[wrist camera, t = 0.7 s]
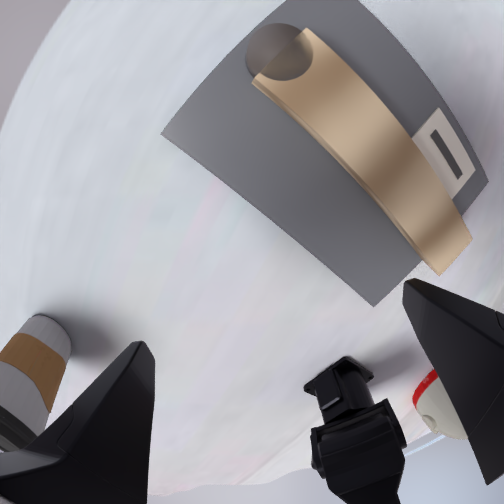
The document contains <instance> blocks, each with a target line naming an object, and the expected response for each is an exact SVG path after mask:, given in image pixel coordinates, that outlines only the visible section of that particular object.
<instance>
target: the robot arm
mask: <svg viewBox="0 0 504 504" xmlns="http://www.w3.org/2000/svg"><path fill="white" fill-rule="evenodd" d="M403 306H404V309H405V311H406V313H407V315H408V317H409V320H410V322H411V324H412V326H413V329H414V331H415V333H416V335H417V338H418V340H419V342H420V344H421V346H422V347H423V349H424V351H425V353H426V355H427V356H428V358H429V360H430V362H431V364H432V365H433V367H434V369H435V371H436V373H437V375H438V377H439V379H440V380H441V382H442V384H443V386H444V388H445V390H446V392H447V394H448V396H449V398H450V400H451V402H452V404H453V406H454V408H455V411H456V413H457V415H458V417H459V419H460V421H461V423H462V426H463V428H464V430H465V432H466V435H467V437H468V440H469V442H470V444H471V446H472V449H473V451H474V454H475V456H476V459H477V461H478V464H479V466H480V469H481V472H482V474H483V477H484V479H485V483H486V484H487V485H489V484H490V483H492V482H493V481H495V480H496V479H498V478H499V477H501V476H502V475H503V474H504V314H503V313H500V312H498V311H496V312H495V310H493V309H491V308H488V307H486V306H484V305H481V304H479V303H476V302H474V301H472V300H469V299H467V298H464V297H462V296H459V295H457V294H454V293H452V292H449V291H447V290H444V289H442V288H439V287H437V286H434V285H432V284H429V283H427V282H424V281H422V280H419V279H417V278H413V279H410V280H407V281H405V282H404V287H403ZM373 378H374V375H373V373H371V372H370V371H368V370H366V369H365V368H363V367H362V366H360V365H358V364H357V363H355V362H353V361H352V360H350V359H348V358H346V357H344V358H342V359H341V360H339V361H338V362H337V363H335V364H334V365H333V366H331V367H330V368H329V369H327V370H326V371H325V372H323V373H322V374H321V375H319V376H318V377H316V378H315V379H314V380H312V381H311V382H309V383H308V384H307V385H305V386H304V387H303V388H304V391H305V392H307V393H309V394H311V395H314V396H316V397H317V400H318V404H319V408H320V410H321V413H322V416H323V420H324V424H325V425H322V426H319V427H314V428H311V434H312V435H311V436H310V439H311V445H312V461H311V465H312V468H313V469H315V470H317V471H318V473H319V474H320V476H321V478H322V479H325V478H326V481H327V485H328V488H329V489H330V490H331V491H332V492H333V493H334V494H335V495H337V496H338V497H339V498H340V499H342V500H343V501H344V502H345V503H347V504H401V503H400V500H399V497H398V494H397V492H398V488H399V485H400V481H401V478H402V474H403V470H404V464H405V458H404V455H403V452H402V449H404V448H406V447H407V444H406V440H405V437H404V434H403V431H402V428H401V426H400V424H399V421H398V419H397V417H396V415H395V413H394V411H393V409H392V407H391V405H390V403H389V401H388V399H387V398H386V399H384V400H382V401H381V402H379V403H377V404H374V401H373V399H372V396H371V394H370V391H369V389H368V386H367V384H366V383H367V382H369V381H370V380H371V379H373ZM154 401H155V359H154V356H153V355H152V353H151V351H150V350H149V348H148V346H147V345H146V343H145V342H144V341H135V342H132V343H131V344H130V345H129V346H128V347H127V348H126V349H125V350H124V351H123V352H122V353H121V354H120V355H119V356H118V357H117V358H116V359H115V360H114V361H113V362H112V363H111V364H110V365H109V366H108V367H107V368H106V369H105V370H104V371H103V372H102V373H101V374H100V375H99V376H98V377H97V378H96V379H95V380H94V382H93V383H92V384H91V385H90V386H89V387H88V388H87V389H86V390H85V391H84V392H83V393H82V394H81V395H80V396H79V397H78V398H77V399H76V400H75V401H74V402H73V405H70V406H69V407H68V408H67V409H66V411H65V412H64V413H63V414H62V415H61V416H60V417H59V418H58V419H57V420H55V421H54V422H53V423H52V424H51V425H50V426H49V427H48V428H47V429H46V430H45V431H43V432H42V433H41V434H40V435H39V436H38V437H37V438H36V439H34V440H33V441H32V442H31V443H30V444H29V445H28V446H26V447H25V448H23V449H21V450H18V451H14V452H4V453H0V504H147V489H148V470H149V455H150V442H151V431H152V420H153V411H154Z"/></svg>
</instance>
